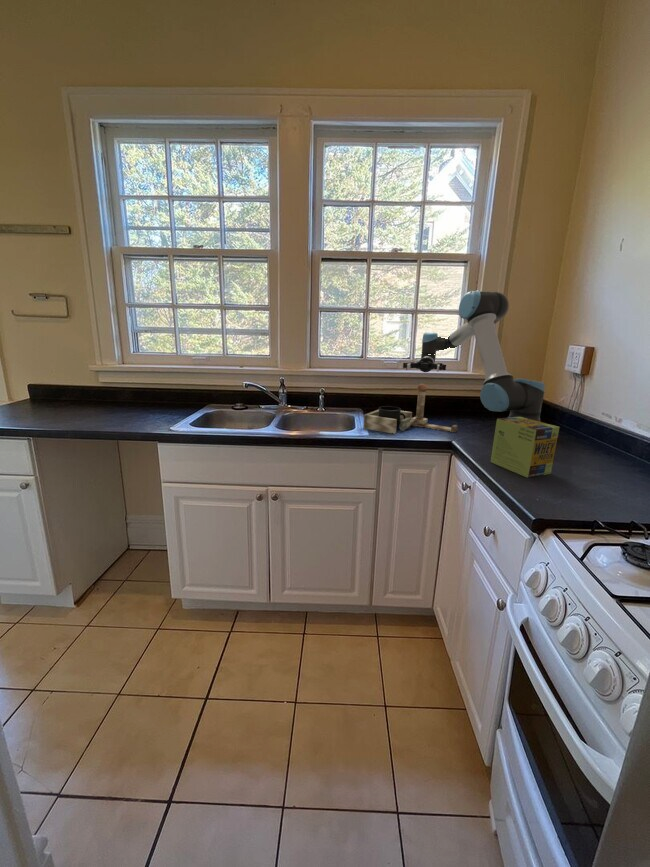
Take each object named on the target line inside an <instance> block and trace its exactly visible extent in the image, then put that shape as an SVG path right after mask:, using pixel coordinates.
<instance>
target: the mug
mask: <svg viewBox="0 0 650 867" xmlns="http://www.w3.org/2000/svg"><path fill="white" fill-rule="evenodd" d="M378 409H379V417H385V418H392V419H397V426H396V431H398V430H400V423H401V421H400V415H403V417H404V419H405V415H404V414H403V413H400V412H401V411H402V409H401V407H398V406H392V405H384V406H379V407H378Z"/></svg>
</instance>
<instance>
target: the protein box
mask: <svg viewBox="0 0 650 867" xmlns="http://www.w3.org/2000/svg"><path fill="white" fill-rule="evenodd" d="M508 417H509V416H508ZM508 417H498V418H497V419H496V422H495V429H494V430H495V431H494V434H493V435H494V436H493V443H492V448H491V450H492V451H491V457H490V463H491V464H494V465H497V466H499V467H501V468H503V469H505V470H508V471H510V472H513V473H515V474H518V475H520V476H521V477H525V478H533V477H534V478H535V477H539V476H545V475H551V473H552V469H553V464H554V457H555V453H556V447H557V442H558V437H559V432H560V428H561V427H560V426H557V425H554V424H549V423H546V422H542V421H541V422H539V421H535V420H531V419H527V418H523V417H509V418H508Z"/></svg>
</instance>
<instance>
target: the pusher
mask: <svg viewBox="0 0 650 867" xmlns="http://www.w3.org/2000/svg"><path fill="white" fill-rule="evenodd" d="M416 389H417V403H416V411H415V414H416V415H415V416H414V417H412V419H410V418H405V419H403V420H401V424H400V425H399V430H400V431H402V432H403V431H405V430H408V429H409V428H410V427H411V425H412V424H414V423H415V424H421V425H424V424H428V418H426V417H424V415H425V414H424V413H425V405H426V404H425V403H426V392H427V390H428V386H427V384H425V383H420V384H418V385H417V388H416Z"/></svg>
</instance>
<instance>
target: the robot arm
mask: <svg viewBox="0 0 650 867" xmlns="http://www.w3.org/2000/svg"><path fill="white" fill-rule="evenodd" d="M509 308H510V303H509V300H508V297H507V296H506V295H505V294H504V293H502V292H498V291H480V290H469V291H467V292H466V293H465V294H464V295H463V297H462V298H461V300H460V302H459V305H458V314H459V316H460V318H461V319H463V320H466V322H465V323H463V324H462V325H461V326H460V327H458V328H457V329H456V330H455V331H453V332H452V333H451V334H449V335H450V336H449V335H448V336H449V337H448V339H445V338H441V337H442V336H439V337H438V333H437V332H425V333H423V335H422V338H421V339H422V340H421V353H422V354H420V360H419V361H417V362H415V361H411V362H410V361H409V362H403V363H402V369H406V370H405V371H409V370H410V369H416V370H420V371H421V372H422V373H429V372H430V371H432V370H436V372H439V371H446V370H447V364H443V363H442V362H437V363H435V360H436V359H437V358H436V357H437V356H436V355H437V352H440V351H439V350H444V349H447V348H449V347H450V348H455V347H457V346H459V345H461V344H463V343H465V342H466V341H469V339H471V338H473V337H474V338H475V341H476V345H477V349H478V353H479V357H480V361H481V366H482V370H483V372H484V376H485V379H484V381H483V386H482V387H481V389H480V394H479V396H480V402H481V403H482V405H483V407H484V408H486V409H487V410H489V411H491V412H497V413H498V412H500V413H501V412H509V415H508V416H507V418H509V417H523V418H527V419H531V420H535V421H539V422H542V421H541V412H542V408H543V401H544V397H545V389H546V388H545V386H546V385H545V383H544V382H542V381H538V380H531V379H525V378H518V377H517V378H515V380H514V375H513V374H511V373H509V372H508V368H507V366H506V363H505V358H504V355H503V351H502V347H501V344H500V340H499V336H498V332H497V328H496V324H497V323H498V322H500V321H501V320H502V319H504V317H505V316H506V315H507V313H508V312H509ZM428 354H431V355H428ZM434 354H435V355H434Z"/></svg>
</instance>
